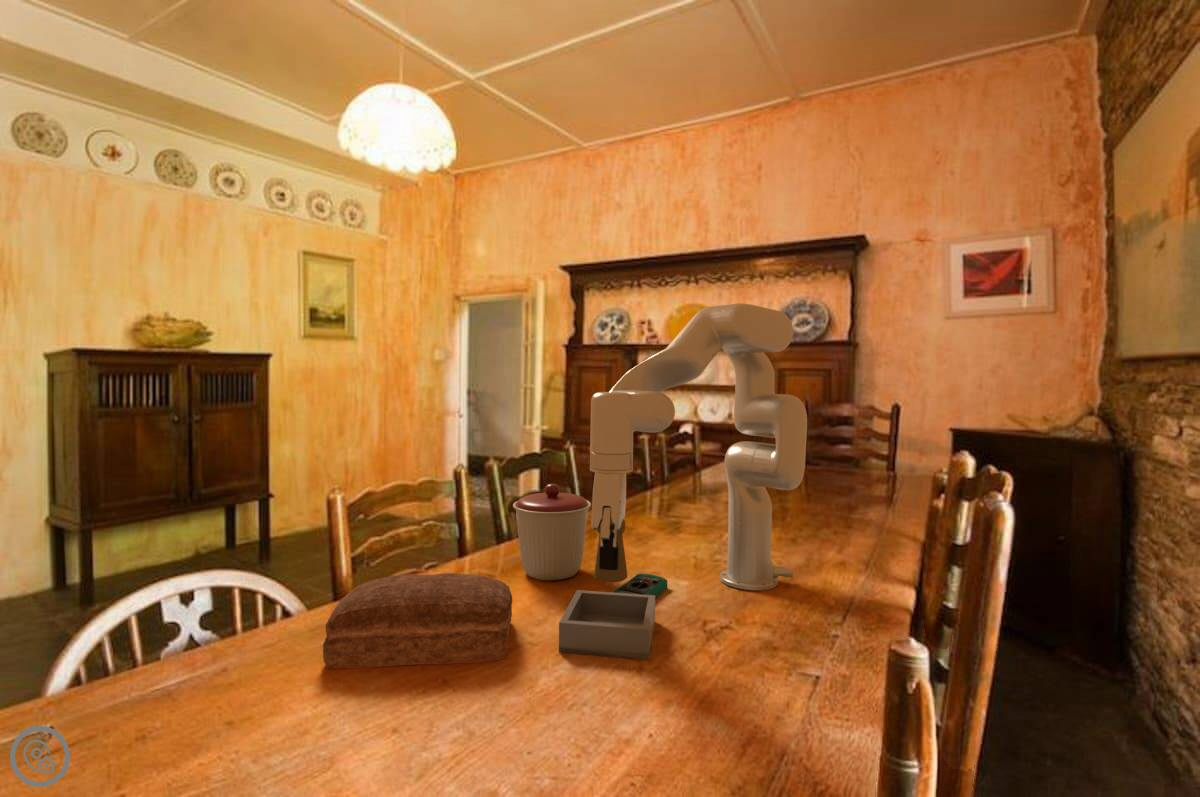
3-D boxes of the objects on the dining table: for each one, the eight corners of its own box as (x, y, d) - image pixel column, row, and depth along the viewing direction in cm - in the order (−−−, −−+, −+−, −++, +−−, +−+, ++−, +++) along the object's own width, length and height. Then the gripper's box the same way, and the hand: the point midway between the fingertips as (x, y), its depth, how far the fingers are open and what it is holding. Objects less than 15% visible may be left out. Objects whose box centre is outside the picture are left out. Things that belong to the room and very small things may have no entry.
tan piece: (592, 569, 106) (592, 511, 105) (625, 568, 106) (625, 510, 105) (595, 583, 100) (595, 521, 99) (630, 581, 100) (630, 519, 99)
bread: (351, 626, 106) (351, 565, 105) (513, 620, 109) (514, 560, 109) (317, 674, 89) (316, 601, 88) (509, 665, 92) (510, 594, 92)
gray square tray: (654, 621, 108) (655, 595, 108) (649, 660, 94) (649, 629, 93) (576, 615, 111) (576, 590, 111) (558, 652, 96) (559, 622, 96)
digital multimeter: (668, 589, 126) (669, 576, 126) (640, 613, 113) (640, 598, 113) (638, 583, 130) (638, 570, 130) (607, 606, 117) (607, 592, 117)
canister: (573, 591, 123) (574, 493, 122) (498, 581, 129) (498, 488, 128) (600, 566, 140) (601, 479, 140) (533, 558, 146) (533, 475, 145)
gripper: (597, 455, 110) (596, 551, 110) (581, 468, 94) (580, 580, 94) (637, 457, 109) (635, 554, 109) (627, 470, 93) (626, 583, 93)
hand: (610, 565), depth 102 cm, fingers closed on tan piece, 2 cm apart
